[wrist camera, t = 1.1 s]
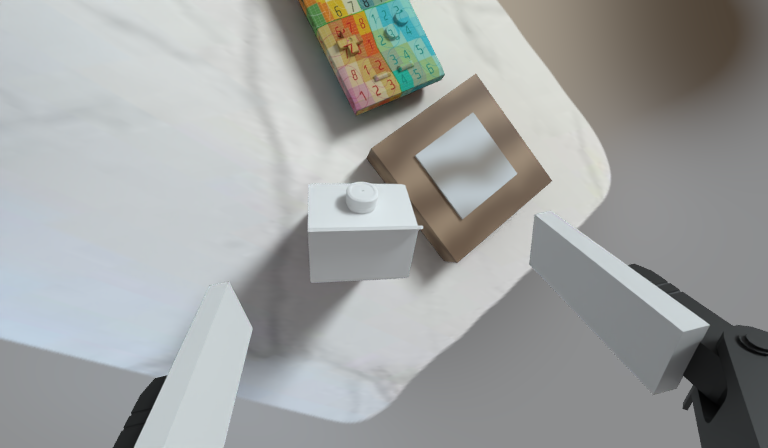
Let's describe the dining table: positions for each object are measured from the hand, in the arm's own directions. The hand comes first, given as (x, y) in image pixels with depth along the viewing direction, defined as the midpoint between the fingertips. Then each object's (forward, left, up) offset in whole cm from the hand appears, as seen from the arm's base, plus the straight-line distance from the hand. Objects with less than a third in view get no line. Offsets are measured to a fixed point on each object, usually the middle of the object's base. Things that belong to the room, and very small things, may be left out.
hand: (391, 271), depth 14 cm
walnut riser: (0, +17, -25) cm, 30 cm away
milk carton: (-2, +1, -25) cm, 25 cm away
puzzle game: (-21, +18, -25) cm, 37 cm away
